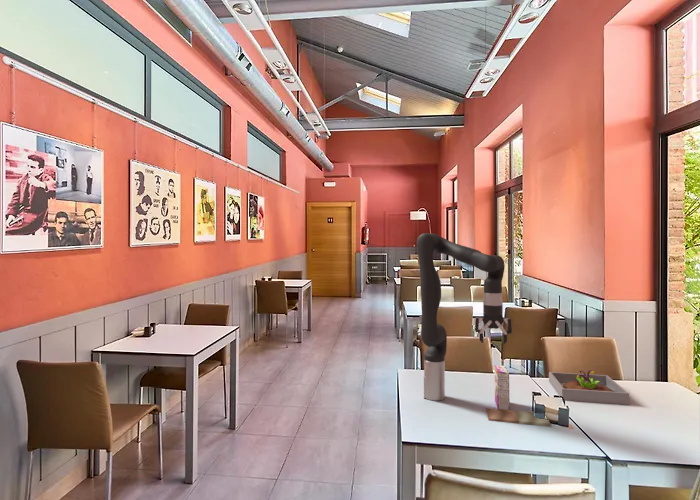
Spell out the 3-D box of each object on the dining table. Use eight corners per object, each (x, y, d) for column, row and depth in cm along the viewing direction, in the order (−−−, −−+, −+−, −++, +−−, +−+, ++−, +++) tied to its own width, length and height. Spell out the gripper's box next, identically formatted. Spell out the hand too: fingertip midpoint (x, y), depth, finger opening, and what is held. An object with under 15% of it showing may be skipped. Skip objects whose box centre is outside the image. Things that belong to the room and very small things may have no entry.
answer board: (488, 420, 169) (488, 416, 169) (486, 410, 180) (486, 406, 180) (550, 426, 164) (550, 421, 164) (544, 415, 174) (544, 410, 174)
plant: (590, 402, 190) (590, 377, 190) (555, 388, 208) (555, 366, 208) (622, 396, 197) (622, 372, 197) (585, 383, 215) (585, 361, 215)
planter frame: (562, 400, 192) (562, 389, 192) (548, 381, 218) (548, 371, 218) (629, 404, 185) (629, 393, 185) (607, 385, 211) (607, 375, 211)
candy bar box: (494, 401, 191) (493, 364, 191) (505, 401, 190) (505, 365, 190) (497, 410, 180) (497, 372, 180) (509, 411, 179) (509, 372, 179)
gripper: (475, 304, 172) (475, 344, 172) (512, 305, 168) (512, 345, 168) (474, 302, 179) (474, 340, 179) (510, 302, 176) (510, 341, 176)
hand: (493, 343), depth 174 cm, fingers open, 8 cm apart
